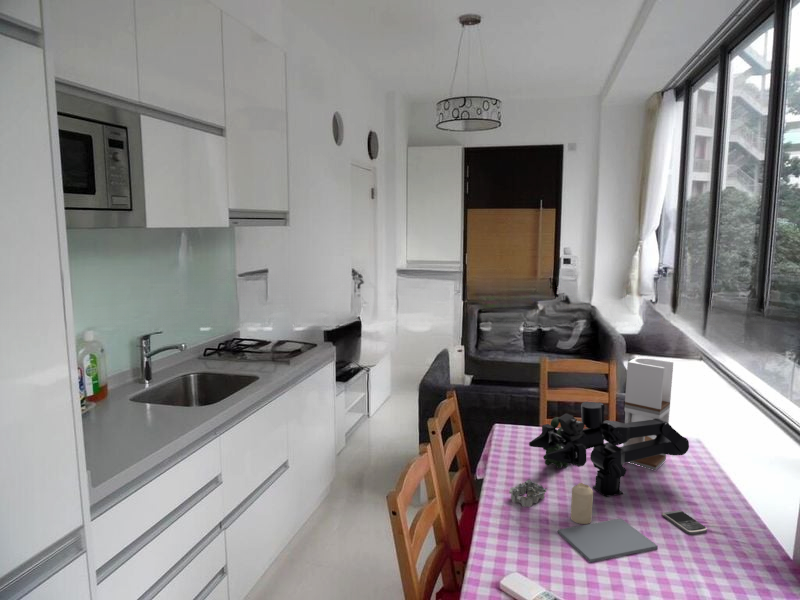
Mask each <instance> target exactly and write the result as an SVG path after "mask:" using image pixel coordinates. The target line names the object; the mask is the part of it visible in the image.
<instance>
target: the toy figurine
mask: <svg viewBox="0 0 800 600" xmlns="http://www.w3.org/2000/svg"><path fill="white" fill-rule="evenodd" d="M559 417H560V416H555V417H553V418H552V419H551V421H550V425H551V426H552V427H554V428H555V429H557V435H559V436H561V434H560V430H562V427H561V426H560V427H559V425H560V422H559V421H558V418H559ZM542 449H543V450H544V451H545V454H544V455H543V459H544V464H545V465H546V466H550V465H551V464H552V465H555V467H556V468H557V469H561V468H563V467H564V468H567V467H569V464H568V463H565V462H561V461H557V460H552V459H548V458H546V454H548V453H551V452H553V451H556V450H559V449H562V448H561V446H560V445H559V444H557V445H556V446H555V447H549V448H542Z"/></svg>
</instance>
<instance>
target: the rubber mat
mask: <svg viewBox="0 0 800 600" xmlns="http://www.w3.org/2000/svg"><path fill="white" fill-rule="evenodd" d="M557 533H558V534H559V535H560V537H562V538H563V539H564V540H565V541H566V542H567V543H568V544H570V546H572V547H573V548H574V550H576V551H577V552H578V553H579V554H580V555H581V556H583V558H585V559H586V560H587V561H588V562H589V563H595V562H599V561H604V560H609V559H613V558H618V557H624V556H628V555H633V554H637V553H643V552H648V551H653V550H658V547H659V546H658V544H656V543H654V541H653V540H651V539H649V538H648V537H646V536H645V535H644V534H643V533H641V532H640V531H638V529H636V528H635V527H633V526H632V525H631V524H629V522H627V521H625V520H624V519H623V518H622V517H620V518H616V519H609V520H605V521H599V522H593V523H589V524H580V525H577V526H572V527H565V528H561V529H557Z"/></svg>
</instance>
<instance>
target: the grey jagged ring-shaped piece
mask: <svg viewBox="0 0 800 600" xmlns="http://www.w3.org/2000/svg"><path fill="white" fill-rule="evenodd" d="M547 490H548V488H544V487H543V485H540V484H539V483H537V482H535V481H533V480H531V479H530V478H529V479H527V480H526V481H524V482H522V483H519V484H518V485H516V486H514V487H510V488H509V492H508V493H509V494H511V495H510V500H511V502H512V503H515V504H516V503H520V504H521V507H524V508H525V507H529V508H530V507H531V508H532V506H533V504H537V503H538V502H539V500H545V499H546V498H545V493H547ZM526 492H527V493H526ZM526 494H527V495H526ZM520 495H521V496H520ZM524 495H526V496H524Z"/></svg>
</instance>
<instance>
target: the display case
mask: <svg viewBox="0 0 800 600" xmlns="http://www.w3.org/2000/svg"><path fill="white" fill-rule="evenodd" d="M673 372H674V361H671V360H663V359H656V358H651V357H643V356H636V357H635V358H633V359H631V360H629V361H627V367H626V382H625V396H624V412H625V414H624V423H630V422H638V421H646V420H653V419H655V418H656V419H657V418H658V419H661V420H663V421H665V422H667V423H669V422H670V411H671V408H670V407H671V400H672V388H673V387H672V383H673ZM656 437H657V436H656V435H652V436H644V437H637V438H631V439H629V440H628V441H627V442H626V443H623V444H622V446H626V445H631V444H635V443H640V442H644V441H648V440H653V439H655V438H656ZM665 460H667V454H660V455H655V456H651V457H647V458H643V459H639V460H634V461H630V463H634V464H637V465H640V466H643V467H642V468H644V467H646V468H645V469H647V468H650V469H649V470H651V469H653V470H652V471H654V470H656V469H657V468H658V467H659V466H660V465H661V464H662V463H663V462H664V461H665ZM665 462H666V461H665ZM665 462H664V463H665ZM664 463H663V464H664ZM663 464H662V465H663ZM662 465H661V466H662ZM640 466H639V467H640ZM661 466H660V467H661ZM660 467H659V468H660ZM659 468H658V469H659ZM658 469H657V470H658ZM657 470H656V471H657Z"/></svg>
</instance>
